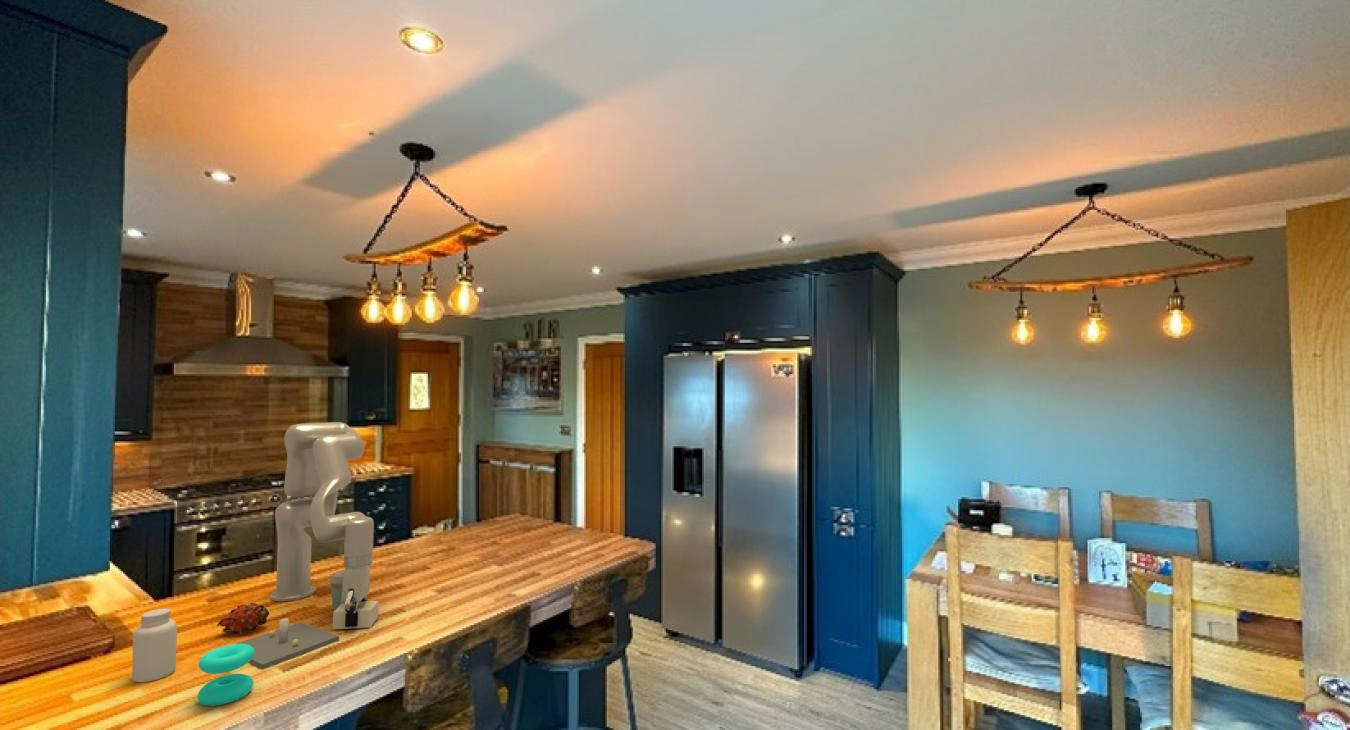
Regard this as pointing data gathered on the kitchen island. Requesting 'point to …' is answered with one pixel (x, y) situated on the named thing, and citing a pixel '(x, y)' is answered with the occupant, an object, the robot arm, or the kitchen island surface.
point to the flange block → (365, 615)
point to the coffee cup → (337, 588)
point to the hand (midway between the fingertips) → (356, 620)
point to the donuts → (227, 685)
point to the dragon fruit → (244, 618)
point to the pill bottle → (154, 646)
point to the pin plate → (287, 643)
